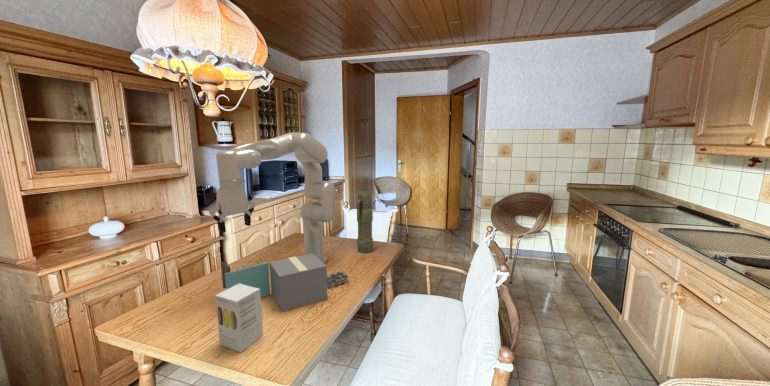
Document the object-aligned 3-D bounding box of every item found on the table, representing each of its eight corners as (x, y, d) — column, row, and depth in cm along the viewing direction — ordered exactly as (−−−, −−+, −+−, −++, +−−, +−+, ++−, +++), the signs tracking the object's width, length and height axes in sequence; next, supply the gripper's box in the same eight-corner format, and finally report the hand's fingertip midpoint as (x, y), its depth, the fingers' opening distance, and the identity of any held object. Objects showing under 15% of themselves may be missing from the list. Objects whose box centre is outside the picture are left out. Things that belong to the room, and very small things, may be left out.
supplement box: (218, 345, 98) (213, 295, 95) (242, 328, 107) (238, 282, 104) (241, 353, 95) (236, 301, 92) (264, 336, 103) (260, 287, 100)
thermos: (353, 252, 177) (351, 191, 171) (363, 246, 187) (362, 187, 181) (366, 255, 173) (366, 192, 167) (376, 248, 183) (376, 188, 177)
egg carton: (328, 289, 134) (328, 280, 134) (320, 283, 140) (320, 274, 140) (350, 282, 141) (350, 274, 140) (341, 276, 147) (341, 268, 146)
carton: (271, 294, 130) (269, 261, 128) (313, 283, 140) (312, 252, 137) (281, 312, 117) (279, 276, 114) (327, 299, 126) (326, 265, 124)
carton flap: (262, 287, 135) (260, 252, 132) (270, 293, 129) (267, 257, 127) (222, 300, 124) (218, 262, 122) (228, 307, 119) (224, 269, 116)
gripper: (247, 180, 126) (251, 221, 129) (201, 186, 113) (207, 232, 116) (258, 181, 121) (261, 224, 125) (211, 188, 108) (216, 236, 111)
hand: (235, 228), depth 120 cm, fingers open, 9 cm apart
